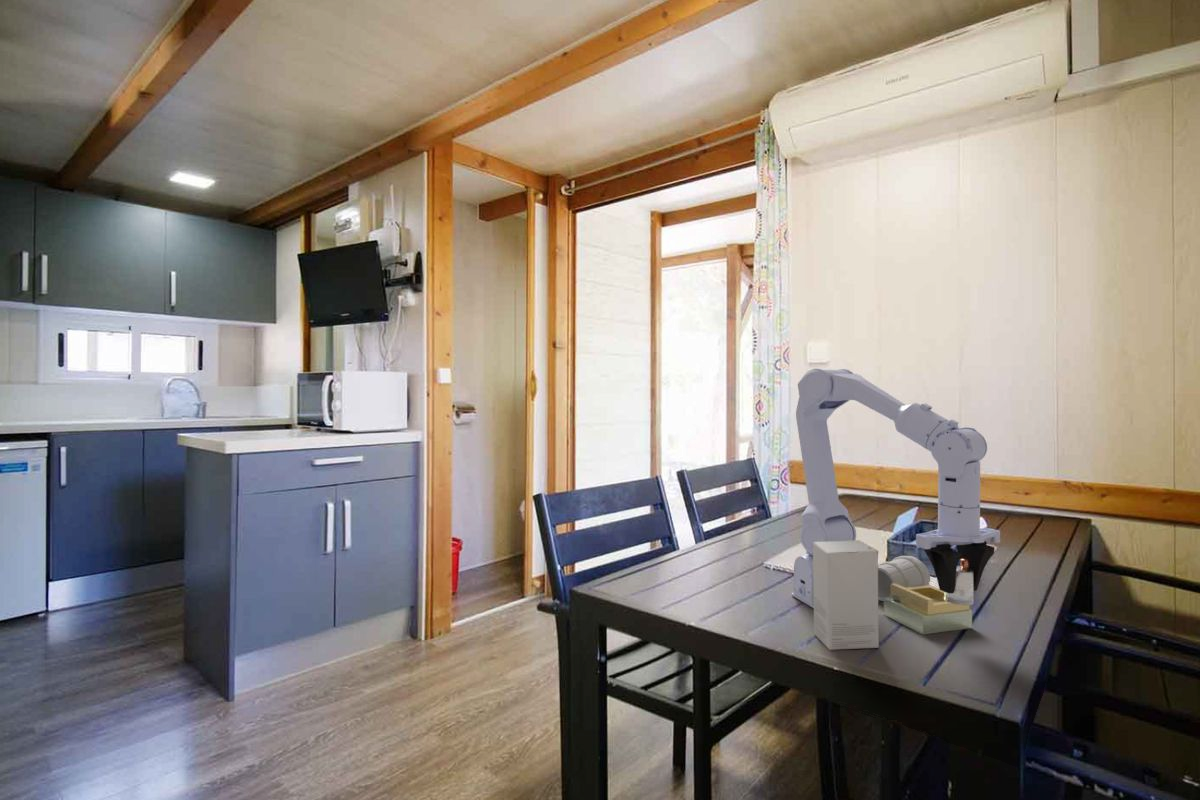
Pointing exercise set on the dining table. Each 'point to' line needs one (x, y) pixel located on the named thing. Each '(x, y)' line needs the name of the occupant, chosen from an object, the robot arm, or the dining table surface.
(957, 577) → the spout can
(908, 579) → the mug
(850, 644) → the skincare box
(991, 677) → the dining table surface
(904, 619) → the tan and green box
